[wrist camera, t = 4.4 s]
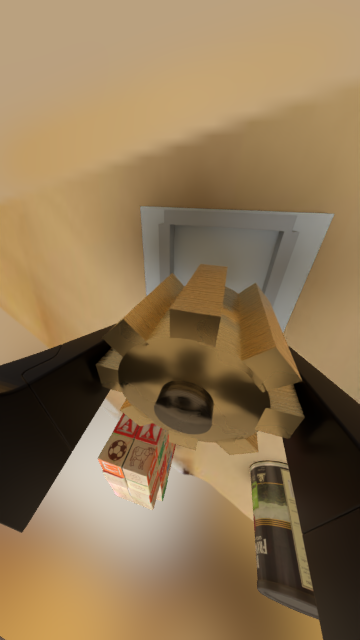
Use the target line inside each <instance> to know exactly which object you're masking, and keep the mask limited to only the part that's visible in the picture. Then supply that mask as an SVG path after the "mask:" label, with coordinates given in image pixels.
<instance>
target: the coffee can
mask: <svg viewBox="0 0 360 640" xmlns="http://www.w3.org/2000/svg"><path fill="white" fill-rule="evenodd" d="M250 472H251V486H252V500H253V515H254V530H255V546H256V560H257V576H258V580H257V589H258V591H259V592H260V593H262V594H263V595H265V596H266V597H268V598H270V599H272V600H274V601H276V602H278V603H280V604H282V605H284V606H287V607H289V608H291V609H293V610H296V611H298V612H300V613H303V614H305V615H308V616H311V617H313V618H316V619H319V616H318V611H317V606H316V601H315V596H314V591H313V587H312V582H311V577H310V572H309V567H308V562H307V557H306V552H305V547H304V542H303V537H302V535H303V534H302V532H301V527H300V522H299V517H298V512H297V507H296V502H295V497H294V492H293V487H292V483H291V478H290V473H289V468H288V464H284V463H280V462H272V461H262V462H257V463H254V464H253V465H252V466H251V467H250Z"/></svg>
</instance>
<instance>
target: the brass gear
mask: <svg viewBox="0 0 360 640" xmlns="http://www.w3.org/2000/svg"><path fill="white" fill-rule="evenodd" d="M227 268H228V267H225V266H216V265H206V264H200V265H199V267H198V268H197V270H196V271H195V273H194V274H193V275H192V277H191V278H190V280H189V281H188V283H187V284H186V286H184V285H183V284H182V283H181V282H180V281H179V280H178V278H177V277H176V276H175V275H174V274H173V273H171V274H170V275H169V276H168V277H167V278H166V279H165V280H164V281H163V282H161V283H160V284H159V285H158V286H157V287H156V288H155V289H154V290H153V291H152V292H151V293H149V294H148V295H147V296H146V297H145V298H144V299H143V300H142V301H141V302H140V303H139V304H138V305H137V306H136V307H134V308H133V309H132V310H131V311H130V312H129V313H128V314H127V315H126V316H125V317H124V318H123V319H122V320H121V321H119V322H118V323H117V324H116V325H115V326H114V327H113V328H112V329H111V330H110V331H109V332H108V333H107V334H106V335H104V336H103V337H102V339H104V340H105V341H106V342H107V343H108V344H109V345H110V346H111V347H112V348H111V349H110V350H109V351H108V352H107V353H106V354H105V355H104V356H103V357H102V358H101V360H100V361H99V362H98V363H97V364H96V367H97V371H98V374H99V377H100V380H101V384H102V387H105V388H108V389H112V390H116V391H119V392H123V394H124V395H125V397H126V401H125V402H124V404H123V406H122V407H121V409H120V411H122V412H123V413H124V414H125V415H127V416H128V417H129V418H130V419H131V420H133V421H134V422H135V423H136V424H138V425H139V426H144V425H148V424H151V423H153V424H155V425H157V426H159V427H160V428H162V429H164V430H166V431H169V442H171V443H174V444H177V445H180V446H183V447H186V448H189V449H193V450H196V446H197V441H204V442H216V443H217V444H218V445H219V446H220V447H222V448H223V449H224V450H225V451H226V452H227V453H228V454H229V455H234V454H244V453H255V452H258V443H257V433H256V432H258V431H262V432H266V433H269V434H273V435H276V436H280V437H283V438H287V439H289V438H290V436H291V435H292V434H293V432H294V431H295V430H296V428H297V427H298V426H299V424H300V423H301V422H302V420H303V419H304V418H305V417H304V414H303V411H302V408H301V406H300V403H299V400H298V397H297V394H296V391H295V388H294V385H293V384H294V383H298V382H302V379H301V377H300V374H299V372H298V369H297V367H296V364H295V362H294V359H293V357H292V355H291V352H290V350H289V347H288V345H287V342H286V340H285V337H284V335H283V332H282V330H281V327H280V325H279V323H278V320H277V318H276V315H275V313H274V310H273V308H272V305H271V303H270V301H269V300H268V299H267V297H266V296H265V294H264V293H263V292H262V290H261V289H260V288H259V286H258V285H257V283H254V284H253V285H251V286H249V287H248V288H246V289H245V290H243V291H242V292H240V293H237V292H235V291H234V290H232V289H230V288H228V287H226V286H225V283H226V275H227Z"/></svg>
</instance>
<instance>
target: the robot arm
mask: <svg viewBox="0 0 360 640" xmlns="http://www.w3.org/2000/svg"><path fill="white" fill-rule="evenodd" d="M115 325H116V324H114V325H112V326H109V327H106V328H104V329H101V330H98V331H96V332H93V333H90V334H88V335H85V336H83V337H80V338H77V339H75V340H72V341H69V342H67V343H64V344H63V345H59V346H56V347H53V348H51V349H48V350H45V351H42V352H40V353H37V354H34V355H31V356H28V357H25V358H22V359H19V360H16V361H12V362H10V363H6V364H3V365H0V523H1V524H3V525H5V526H8V527H10V528H12V529H14V530H17V531H19V532H21V533H22V532H23V530H24V529H25V528H26V526H27V525H28V523H29V521H30V520H31V518H32V517H33V515H34V513H35V512H36V510H37V508H38V507H39V505H40V503H41V502H42V500H43V499H44V497H45V495H46V494H47V492H48V491H49V489H50V487H51V486H52V484H53V482H54V481H55V479H56V477H57V476H58V474H59V473H60V471H61V469H62V468H63V466H64V464H65V463H66V461H67V459H68V458H69V456H70V455H71V453H72V451H73V450H74V448H75V446H76V445H77V443H78V441H79V440H80V438H81V436H82V435H83V433H84V432H85V430H86V428H87V427H88V425H89V423H90V422H91V420H92V419H93V417H94V415H95V414H96V412H97V411H98V409H99V407H100V406H101V404H102V402H103V401H104V399H105V398H106V396H107V394H108V393H109V391H110V389H108V388H105V387H102V384H101V380H100V377H99V374H98V371H97V367H96V364H97V363H98V362H99V361H100V360H101V358H102V357H103V356H104V355H105V354H106V353H107V352H108V351H109V350H110V349H111V348H112V347H111V346H110V345H109V344H108V343H107V342H106V341H105V340H104V339H102V337H103V336H104V335H106V334H107V333H108V332H109V331H110V330H111V329H112V328H113V327H114V326H115ZM288 347H289V346H288ZM289 350H290V352H291V355H292V357H293V359H294V362H295V364H296V367H297V369H298V372H299V374H300V377H301V379H302V382H298V383H294V384H293V385H294V388H295V391H296V394H297V397H298V400H299V403H300V406H301V408H302V411H303V414H304V417H305V418H304V419H303V420H302V422H301V423H300V424H299V426H298V427H297V428H296V430H295V431H294V432H293V434H292V435H291V436H290V438H289V439H287V438H283V437H282V438H283V443H284V448H285V453H286V458H287V463H288V468H289V473H290V478H291V483H292V487H293V492H294V497H295V502H296V507H297V512H298V517H299V522H300V527H301V532H302V534H303V535H302V537H303V542H304V547H305V552H306V557H307V562H308V567H309V572H310V577H311V582H312V587H313V591H314V596H315V601H316V606H317V611H318V616H319V621H320V625H321V631H322V635H323V640H360V404H359V403H357V402H356V401H355V400H354V399H353V398H351V397H350V396H349V395H348V394H347V393H345V392H344V391H343V390H342V389H340V388H339V387H338V386H337V385H336V384H334V383H333V382H332V381H331V380H329V379H328V378H327V377H326V376H325V375H323V374H322V373H321V372H320V371H319V370H317V369H316V368H315V367H314V366H312V365H311V364H310V363H309V362H308V361H306V360H305V359H304V358H303V357H302V356H300V355H299V354H298V353H297V352H295V351H294V350H293V349H292V348H291V347H289ZM0 640H5V639H4V638H2V637H1V636H0Z"/></svg>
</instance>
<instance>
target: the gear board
mask: <svg viewBox="0 0 360 640" xmlns="http://www.w3.org/2000/svg"><path fill="white" fill-rule="evenodd" d="M140 210H141V224H142V239H143V254H144V268H145V283H146V296H147V295H148V294H149V293H151V292H152V291H153V290H154V289H155V288H156V287H157V286H158V285H159V284H160V283H161V282H163V281H164V280H165V279H166V278H167V277H168V276H169V275H170V274H171V273H173V274H174V275H175V276H176V277H177V278H178V280H179V281H180V282H181V283H182V284H183V285H184V286H186V284H187V283H188V281H189V280H190V278H191V277H192V275H193V274H194V273H195V271H196V270H197V268H198V267H199V265H200V264H206V265H216V266H225V267H228V268H227V275H226V283H225V286H226V287H228V288H230V289H232V290H234V291H235V292H237V293H240V292H242V291H243V290H245V289H246V288H248V287H249V286H251V285H253V284H254V283H257V285H258V286H259V288H260V289H261V290H262V292H263V293H264V294H265V296H266V297H267V299H268V300H269V301H270V303H271V305H272V308H273V310H274V313H275V315H276V318H277V320H278V323H279V325H280V327H281V330H282V332H284V330H285V327H286V325H287V323H288V320H289V318H290V316H291V313H292V311H293V309H294V306H295V304H296V302H297V299H298V297H299V295H300V292H301V290H302V288H303V286H304V283H305V281H306V279H307V276H308V274H309V272H310V269H311V267H312V265H313V262H314V260H315V258H316V255H317V253H318V251H319V248H320V246H321V244H322V241H323V239H324V237H325V235H326V232H327V230H328V228H329V225H330V223H331V221H332V218H333V216H334V214H328V213H302V212H277V211H252V210H226V209H201V208H175V207H150V206H140Z"/></svg>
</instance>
